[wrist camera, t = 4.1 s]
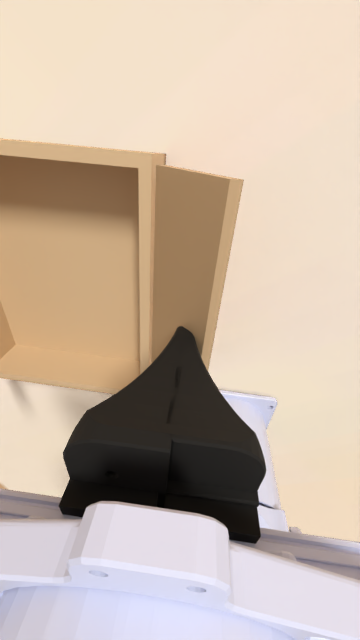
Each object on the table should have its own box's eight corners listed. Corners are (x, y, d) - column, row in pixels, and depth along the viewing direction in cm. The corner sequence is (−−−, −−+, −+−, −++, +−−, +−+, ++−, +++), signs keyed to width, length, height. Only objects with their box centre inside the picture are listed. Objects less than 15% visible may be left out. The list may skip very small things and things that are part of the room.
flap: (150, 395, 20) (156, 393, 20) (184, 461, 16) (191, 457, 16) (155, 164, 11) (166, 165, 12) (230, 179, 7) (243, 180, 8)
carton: (157, 363, 23) (148, 398, 20) (15, 344, 24) (-17, 375, 21) (165, 153, 15) (151, 153, 11) (-58, 133, 15) (-135, 126, 12)
